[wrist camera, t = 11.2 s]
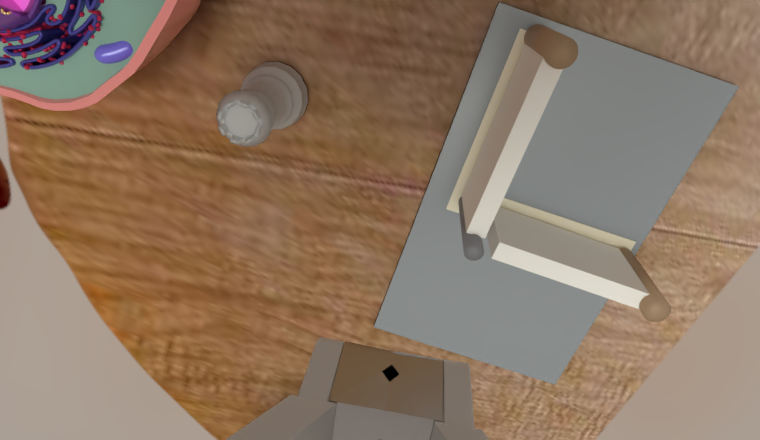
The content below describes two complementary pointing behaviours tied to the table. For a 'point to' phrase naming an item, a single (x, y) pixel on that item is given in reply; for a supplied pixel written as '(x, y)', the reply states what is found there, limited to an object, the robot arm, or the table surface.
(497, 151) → the rail
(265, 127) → the rook chess piece
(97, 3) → the cell model
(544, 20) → the board
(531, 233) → the panel
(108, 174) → the table surface
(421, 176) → the table surface
